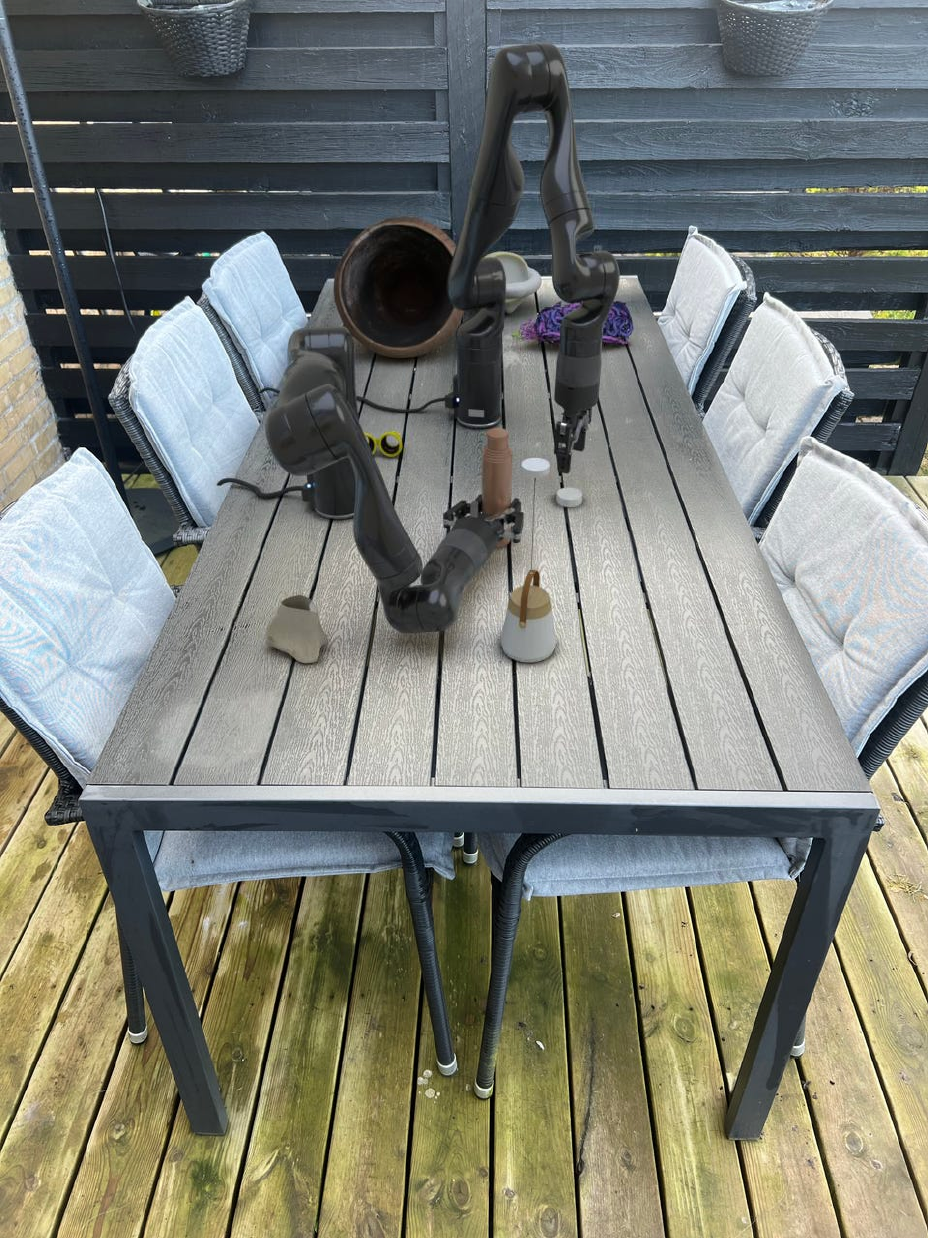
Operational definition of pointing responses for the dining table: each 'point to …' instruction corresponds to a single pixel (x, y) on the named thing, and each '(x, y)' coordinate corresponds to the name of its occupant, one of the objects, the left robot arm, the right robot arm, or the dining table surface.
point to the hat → (517, 279)
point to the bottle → (497, 475)
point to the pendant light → (529, 603)
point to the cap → (569, 497)
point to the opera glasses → (385, 444)
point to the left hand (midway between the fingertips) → (501, 499)
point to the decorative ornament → (552, 316)
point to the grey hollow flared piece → (297, 629)
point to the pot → (397, 288)
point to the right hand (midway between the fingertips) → (570, 460)
